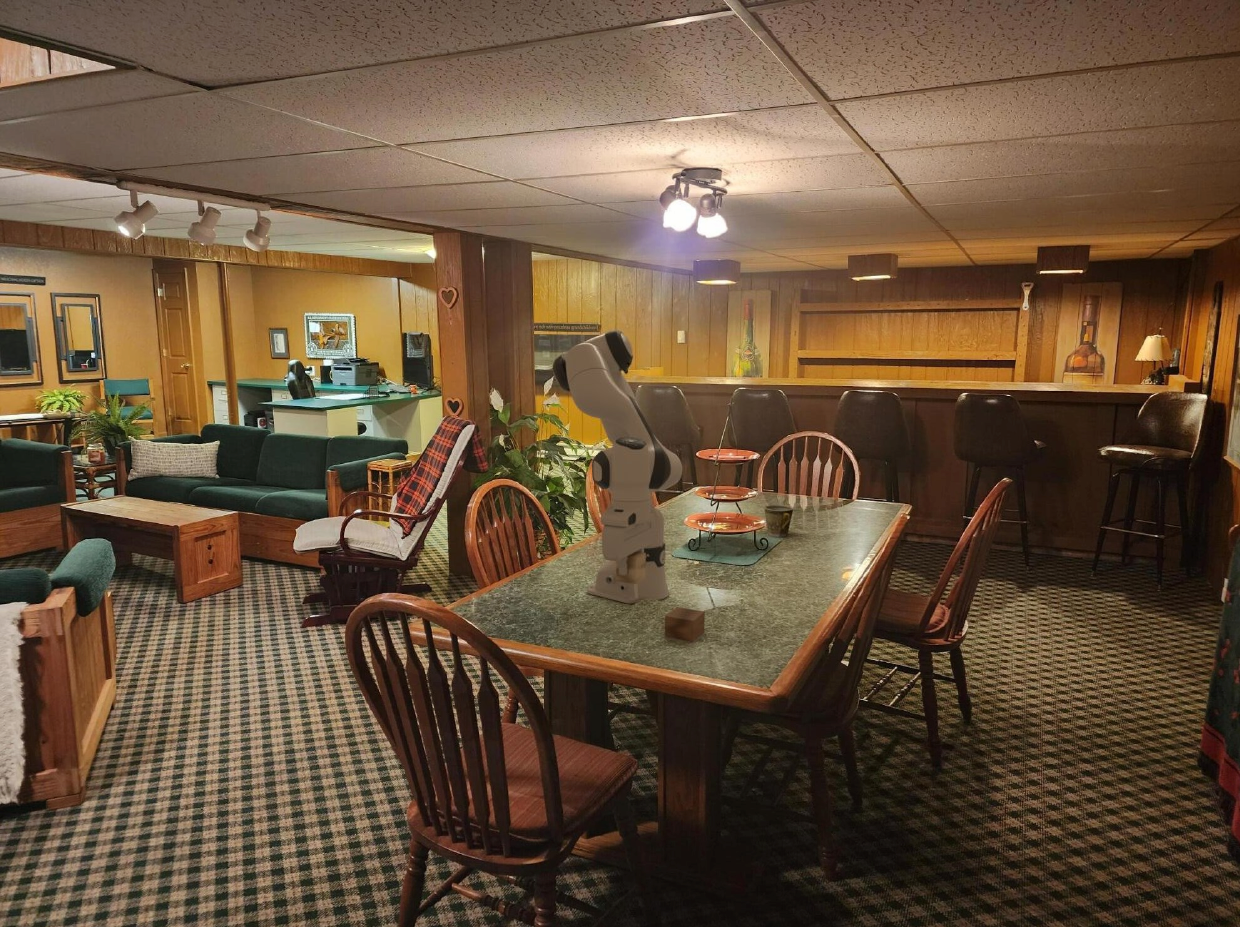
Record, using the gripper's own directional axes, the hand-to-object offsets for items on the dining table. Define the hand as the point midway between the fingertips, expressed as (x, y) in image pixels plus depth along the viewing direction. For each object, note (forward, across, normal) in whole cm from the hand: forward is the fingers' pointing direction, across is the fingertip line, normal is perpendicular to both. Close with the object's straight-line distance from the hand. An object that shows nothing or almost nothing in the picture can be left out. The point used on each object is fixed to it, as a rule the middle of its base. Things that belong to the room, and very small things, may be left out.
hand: (630, 570), depth 181 cm
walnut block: (+16, -8, +10) cm, 20 cm away
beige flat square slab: (+17, -8, +10) cm, 21 cm away
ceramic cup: (+17, -116, +2) cm, 117 cm away
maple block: (+2, 0, 0) cm, 2 cm away
